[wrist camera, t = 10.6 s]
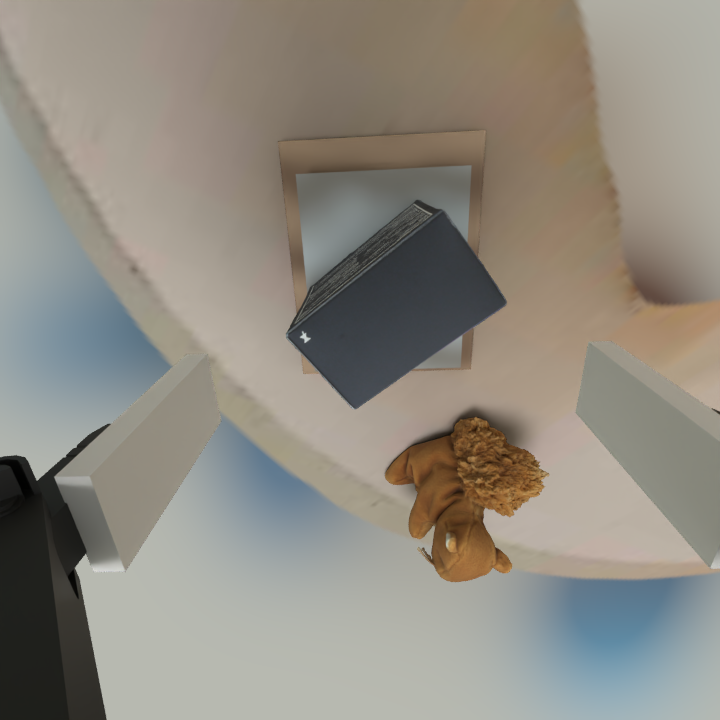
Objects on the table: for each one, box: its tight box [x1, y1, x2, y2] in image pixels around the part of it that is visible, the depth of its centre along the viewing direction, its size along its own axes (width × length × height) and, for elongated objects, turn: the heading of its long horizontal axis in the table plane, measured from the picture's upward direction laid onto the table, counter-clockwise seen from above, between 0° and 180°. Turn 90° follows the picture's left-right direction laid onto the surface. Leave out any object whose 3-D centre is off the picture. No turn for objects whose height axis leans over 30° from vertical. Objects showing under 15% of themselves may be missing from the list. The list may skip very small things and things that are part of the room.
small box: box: [286, 200, 507, 409], centre depth 27 cm, size 11×6×10 cm, turn 129°
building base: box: [278, 130, 486, 374], centre depth 34 cm, size 20×16×6 cm
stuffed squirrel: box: [385, 417, 549, 582], centre depth 39 cm, size 10×14×13 cm
